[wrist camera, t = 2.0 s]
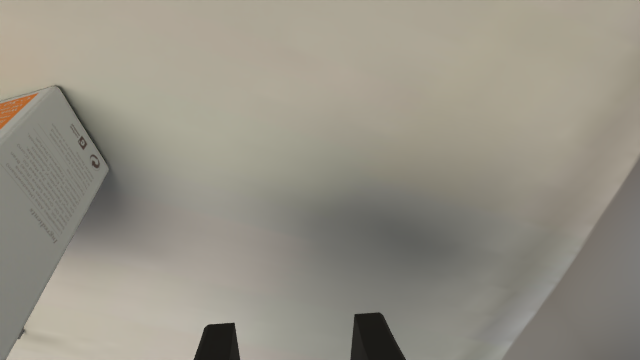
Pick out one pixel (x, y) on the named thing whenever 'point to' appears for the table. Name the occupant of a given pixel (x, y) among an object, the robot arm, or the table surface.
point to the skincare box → (39, 198)
